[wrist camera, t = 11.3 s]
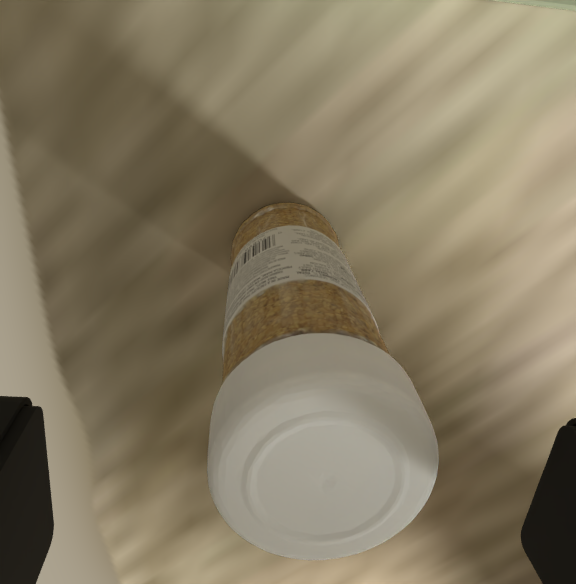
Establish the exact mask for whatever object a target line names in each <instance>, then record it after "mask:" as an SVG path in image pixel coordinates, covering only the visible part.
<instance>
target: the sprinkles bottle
mask: <svg viewBox="0 0 576 584" xmlns="http://www.w3.org/2000/svg"><path fill="white" fill-rule="evenodd" d="M231 264H232V268H231V272H230V276H229V285H228V293H227V302H226V312H225V323H224V332H223V344H222V355H223V362H224V364H223V380H222V385H221V388H220V390H219V392H218V394H217V396H216V399H215V402H214V405H213V410H212V415H211V421H210V433H209V444H208V461H207V475H208V484H209V489H210V493H211V496H212V498H213V501H214V504H215V506H216V508H217V510H218V512H219V513H220V515H221V516H222V517H223V519H224V520H225V521H226V523H227V524H228V525H229V526H230V527H231V528H232V529H233V530H234V531H235V532H236V533H237V534H238V535H239V536H241V537H242V538H243V539H245V540H246V541H248V542H249V543H251V544H253V545H255V546H256V547H258V548H260V549H262V550H265V551H267V552H269V553H272V554H276V555H279V556H283V557H287V558H293V559H301V560H327V559H337V558H342V557H346V556H350V555H355V554H358V553H361V552H364V551H366V550H369V549H371V548H373V547H375V546H378V545H380V544H382V543H384V542H385V541H387V540H389V539H390V538H392V537H393V536H394V535H396V534H397V533H399V532H400V531H401V530H403V529H404V528H405V527H406V526H407V525H408V524H409V523H410V522H411V521H412V520H413V519H414V518H415V517H416V516H417V515H418V513H419V512H420V511H421V509H422V508H423V506H424V505H425V504H426V502H427V500H428V498H429V496H430V494H431V492H432V489H433V487H434V484H435V481H436V477H437V472H438V465H439V453H438V443H437V439H436V435H435V432H434V429H433V426H432V423H431V421H430V419H429V417H428V414H427V412H426V410H425V408H424V406H423V403H422V401H421V399H420V398H419V396H418V393H417V391H416V389H415V387H414V385H413V383H412V381H411V379H410V378H409V376H408V375H407V373H406V372H405V370H404V369H403V368H402V367H401V365H400V364H399V363H398V362H397V361H396V360H395V359H393V358H392V357H391V356H390V354H389V353H388V350H387V348H386V346H385V344H384V342H383V340H382V338H381V336H380V333H379V328H378V325H377V323H376V321H375V319H374V316H373V314H372V312H371V310H370V308H369V306H368V303H367V301H366V299H365V297H364V295H363V293H362V291H361V289H360V287H359V285H358V283H357V281H356V279H355V277H354V275H353V272H352V270H351V268H350V266H349V264H348V262H347V259H346V258H345V256H344V254H343V252H342V251H341V249H340V248H339V244H338V239H337V236H336V233H335V231H334V230H333V229H332V227H331V226H330V224H329V222H328V221H327V220H326V219H325V218H324V217H323V216H322V215H321V214H320V213H318V212H317V211H315V210H313V209H311V208H310V207H308V206H306V205H300V204H296V203H278V204H272V205H269V206H266V207H263V208H261V209H260V210H258V211H257V212H255V213H253V214H252V215H251V216H250V217H249V218H248V219H247V220H246V221H244V222H243V223H242V225H241V226H240V227H239V229H238V232H237V233H236V235H235V238H234V240H233V243H232V252H231Z"/></svg>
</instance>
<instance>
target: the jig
mask: <svg viewBox="0 0 576 584" xmlns="http://www.w3.org/2000/svg"><path fill="white" fill-rule="evenodd" d="M493 1H501V2H509V3H517V4H524V5H532V6H540V7H548V8H556V9H564V10H572V11H576V0H493Z"/></svg>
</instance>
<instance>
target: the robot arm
mask: <svg viewBox="0 0 576 584" xmlns="http://www.w3.org/2000/svg"><path fill="white" fill-rule="evenodd" d="M53 529H54V521H53V511H52V501H51V490H50V480H49V470H48V459H47V450H46V439H45V429H44V419H43V411H42V408H41V407H38V406H32V402H31V400H30V399H29V398H28V397H8V396H0V584H36V581H37V579H38V576H39V574H40V571H41V568H42V566H43V563H44V561H45V558H46V555H47V553H48V550H49V547H50V544H51V541H52V536H53ZM521 541H522V545H523V548H524V551H525V553H526V554H527V556H528V558H529V560H530V561H531V563H532V565H533V567H534V569H535V570H536V572H537V574H538V576H539V577H540V579H541V581H542V583H543V584H576V418H574V419H571V420H570V421H569V422H568V423H567V424H566V426H562V427H561V428H560V430H559V431H558V434H557V436H556V439H555V442H554V444H553V447H552V450H551V452H550V455H549V458H548V460H547V463H546V466H545V468H544V471H543V474H542V476H541V479H540V482H539V484H538V487H537V489H536V492H535V495H534V497H533V500H532V503H531V505H530V508H529V511H528V513H527V516H526V519H525V521H524V524H523V527H522V530H521Z"/></svg>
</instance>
